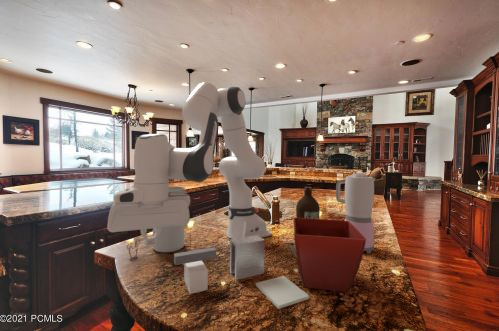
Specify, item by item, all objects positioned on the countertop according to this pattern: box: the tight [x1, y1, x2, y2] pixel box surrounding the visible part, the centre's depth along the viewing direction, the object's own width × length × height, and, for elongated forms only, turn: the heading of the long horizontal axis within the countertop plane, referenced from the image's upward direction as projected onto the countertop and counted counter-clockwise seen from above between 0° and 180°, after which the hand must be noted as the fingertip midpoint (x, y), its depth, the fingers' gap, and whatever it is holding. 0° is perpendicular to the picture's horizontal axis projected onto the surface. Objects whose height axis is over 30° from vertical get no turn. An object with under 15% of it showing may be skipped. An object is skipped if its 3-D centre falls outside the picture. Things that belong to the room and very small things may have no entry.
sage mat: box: [255, 275, 310, 310], centre depth 66 cm, size 10×12×1 cm
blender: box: [335, 173, 377, 254], centre depth 101 cm, size 16×12×32 cm
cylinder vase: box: [152, 185, 186, 253], centre depth 98 cm, size 12×12×25 cm
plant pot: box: [293, 217, 366, 293], centre depth 73 cm, size 19×19×17 cm
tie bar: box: [173, 247, 217, 266], centre depth 69 cm, size 12×2×2 cm, turn 117°
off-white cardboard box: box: [183, 260, 209, 295], centre depth 69 cm, size 5×8×6 cm, turn 27°
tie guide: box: [229, 235, 266, 281], centre depth 77 cm, size 10×5×11 cm, turn 117°
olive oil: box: [295, 186, 321, 219], centre depth 108 cm, size 11×11×25 cm
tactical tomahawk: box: [283, 242, 297, 259], centre depth 94 cm, size 21×7×1 cm, turn 2°
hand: (150, 244), depth 63 cm, fingers closed
